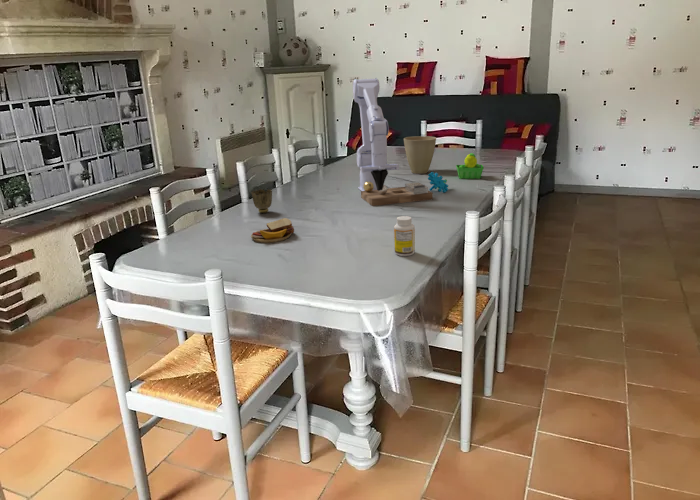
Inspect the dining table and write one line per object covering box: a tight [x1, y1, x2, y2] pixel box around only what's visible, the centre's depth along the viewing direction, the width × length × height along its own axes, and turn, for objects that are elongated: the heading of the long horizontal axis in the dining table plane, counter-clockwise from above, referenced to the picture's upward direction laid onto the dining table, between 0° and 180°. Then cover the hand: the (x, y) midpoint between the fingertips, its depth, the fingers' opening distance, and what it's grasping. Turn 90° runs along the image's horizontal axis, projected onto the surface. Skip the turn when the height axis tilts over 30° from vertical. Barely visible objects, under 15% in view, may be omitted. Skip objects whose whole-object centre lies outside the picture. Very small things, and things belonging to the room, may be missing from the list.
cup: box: [251, 188, 273, 214], centre depth 203 cm, size 8×7×8 cm
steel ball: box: [379, 184, 388, 194], centre depth 213 cm, size 4×4×4 cm
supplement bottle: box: [393, 215, 416, 257], centre depth 154 cm, size 6×6×10 cm
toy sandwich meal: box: [250, 217, 295, 244], centre depth 174 cm, size 12×14×5 cm
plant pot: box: [403, 135, 437, 175], centre depth 260 cm, size 15×15×16 cm
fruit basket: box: [455, 152, 485, 180], centre depth 245 cm, size 11×9×11 cm
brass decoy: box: [363, 181, 374, 192], centre depth 217 cm, size 4×4×4 cm
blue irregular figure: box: [427, 171, 449, 194], centre depth 225 cm, size 11×6×10 cm
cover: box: [404, 181, 429, 194], centre depth 214 cm, size 10×6×3 cm, turn 15°
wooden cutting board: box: [360, 186, 434, 207], centre depth 215 cm, size 14×24×2 cm, turn 105°
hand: (380, 189), depth 212 cm, fingers closed, pressing on steel ball
